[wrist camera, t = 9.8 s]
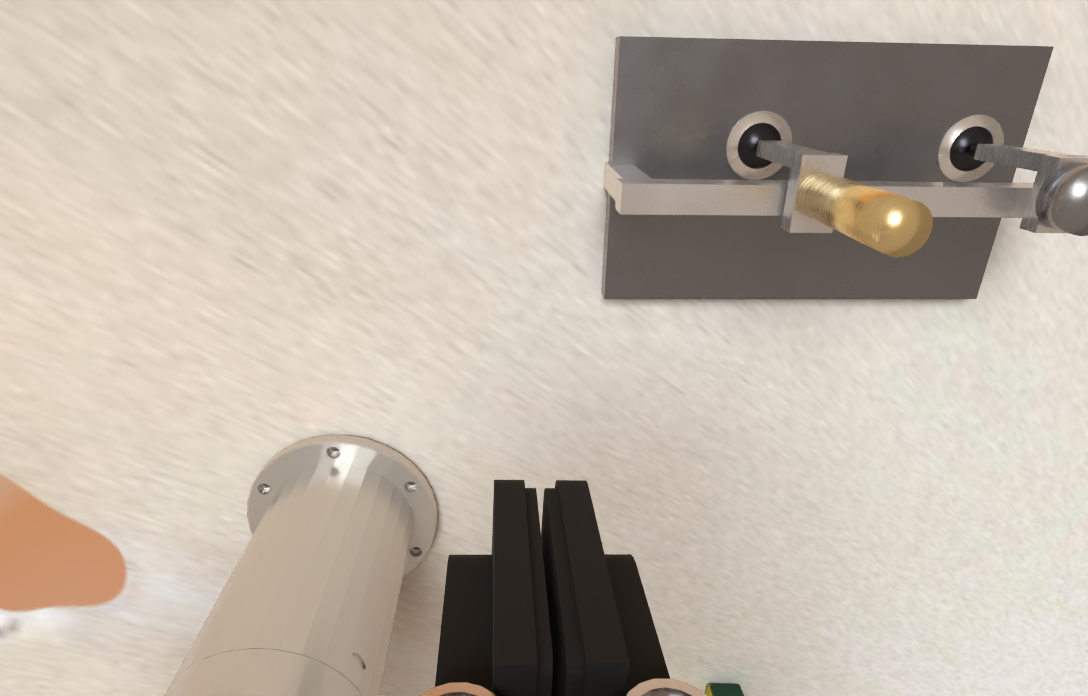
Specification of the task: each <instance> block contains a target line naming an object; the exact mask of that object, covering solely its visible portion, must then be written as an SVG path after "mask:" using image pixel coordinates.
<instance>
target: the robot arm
mask: <svg viewBox="0 0 1088 696" xmlns="http://www.w3.org/2000/svg"><path fill="white" fill-rule="evenodd" d="M335 447H336V448H335ZM247 517H248V522H249V527H250V530H251V533H252V535H253V536H252V538H251V540H250V541H249V543H248V545H247V547H246V549H245V551H244V552H243V554H242V556H241V558H240V560H239V561H238V563H237V565H236V567H235V569H234V570H233V572H232V574H231V576H230V578H229V580H228V581H227V583H226V585H225V587H224V589H223V590H222V592H221V594H220V596H219V598H218V599H217V601H216V603H215V605H214V607H213V609H212V610H211V612H210V614H209V616H208V618H207V619H206V621H205V623H204V625H203V627H202V628H201V630H200V632H199V634H198V636H197V638H196V639H195V641H194V643H193V645H192V647H191V648H190V650H189V652H188V654H187V656H186V658H185V659H184V661H183V663H182V665H181V667H180V668H179V670H178V672H177V674H176V676H175V678H174V680H173V682H172V683H171V685H170V687H169V689H168V690H167V692H166V694H165V696H379V691H380V687H381V682H382V677H383V672H384V667H385V662H386V658H387V653H388V648H389V643H390V638H391V633H392V629H393V624H394V619H395V614H396V609H397V604H398V600H399V595H400V590H401V585H402V580H403V577H404V576H405V575H407V574H408V573H409V572H411V571H412V570H413V569H415V568H416V567H417V565H418V564H419V563H420V562H421V561H422V560H423V559H424V558H425V556H426V554H427V552H428V551H429V549H430V547H431V545H432V542H433V539H434V535H435V531H436V524H437V505H436V501H435V498H434V495H433V491H432V489H431V487H430V485H429V484H428V482H427V480H426V478H425V477H424V476H423V474H422V473H421V472H420V471H419V470H418V468H417V467H416V466H415V465H414V464H413V463H412V462H410V461H409V460H408V459H407V458H405V457H404V456H403V455H402V454H400V453H398V452H397V451H395V450H393V449H391V448H389V447H388V446H386V445H383V444H381V443H378V442H375V441H372V440H370V439H366V438H360V437H355V436H350V435H326V436H319V437H312V438H309V439H306V440H303V441H299V442H296V443H294V444H292V445H291V446H289V447H287V448H285V449H283V450H281V451H280V452H279V453H278V454H276V455H275V456H274V457H273V458H272V459H270V460H269V461H268V463H267V464H266V465H265V466H264V468H263V469H262V470H261V472H260V473H259V475H258V476H257V478H256V480H255V481H254V483H253V485H252V488H251V491H250V494H249V498H248V505H247ZM420 696H707V695H706V694H705V693H703V692H702V691H701V690H699V689H697V688H695V687H693V686H691V685H689V684H687V683H685V682H681V681H677V680H673V679H670V677H669V673H668V670H667V667H666V663H665V660H664V656H663V653H662V650H661V646H660V643H659V640H658V636H657V633H656V630H655V626H654V623H653V620H652V616H651V613H650V609H649V606H648V603H647V599H646V596H645V593H644V589H643V586H642V583H641V579H640V576H639V573H638V569H637V566H636V563H635V560H634V558H633V556H632V555H604V551H603V547H602V542H601V538H600V534H599V530H598V525H597V521H596V517H595V513H594V508H593V504H592V500H591V496H590V491H589V487H588V483H587V481H570V480H557V481H556V484H555V488H545V490H544V501H543V516H542V531H541V533H540V523H539V513H538V503H537V493H536V488H525V483H524V480H494V504H493V535H492V555H449V558H448V566H447V576H446V585H445V595H444V605H443V615H442V625H441V634H440V644H439V654H438V664H437V673H436V683H435V687H433V688H432V689H430V690H428V691H427V692H425V693H423V694H422V695H420Z"/></svg>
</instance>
